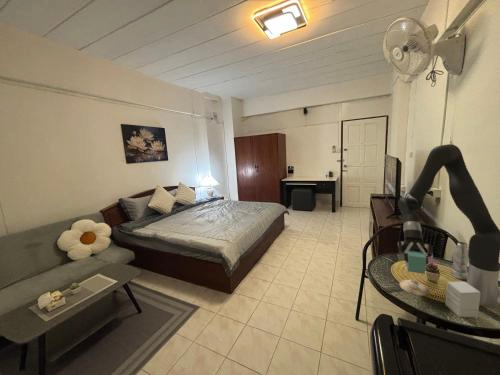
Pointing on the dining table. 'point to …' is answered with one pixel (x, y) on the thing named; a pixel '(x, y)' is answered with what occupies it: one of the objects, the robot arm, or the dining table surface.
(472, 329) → the dining table surface
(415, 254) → the teal block
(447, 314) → the dining table surface
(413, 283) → the white ceramic ramekin
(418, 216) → the robot arm
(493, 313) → the dining table surface
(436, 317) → the dining table surface
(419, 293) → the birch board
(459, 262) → the plastic bottle
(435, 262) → the lily
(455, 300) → the supplement box
